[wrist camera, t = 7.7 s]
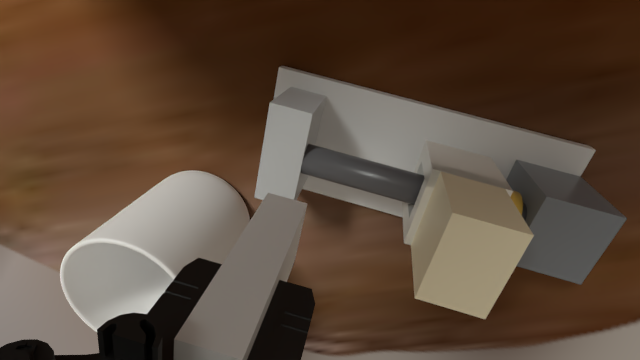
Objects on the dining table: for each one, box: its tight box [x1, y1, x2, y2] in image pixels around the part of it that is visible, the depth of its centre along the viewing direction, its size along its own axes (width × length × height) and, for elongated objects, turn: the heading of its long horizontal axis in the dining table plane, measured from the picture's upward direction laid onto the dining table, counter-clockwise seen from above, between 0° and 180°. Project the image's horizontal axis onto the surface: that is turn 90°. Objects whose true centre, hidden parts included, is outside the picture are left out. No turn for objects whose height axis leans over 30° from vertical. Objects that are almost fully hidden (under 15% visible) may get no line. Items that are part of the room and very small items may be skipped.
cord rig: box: [254, 66, 627, 285], centre depth 23 cm, size 20×8×6 cm, turn 77°
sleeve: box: [402, 140, 534, 319], centre depth 20 cm, size 4×5×9 cm
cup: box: [60, 170, 250, 332], centre depth 27 cm, size 8×12×10 cm
